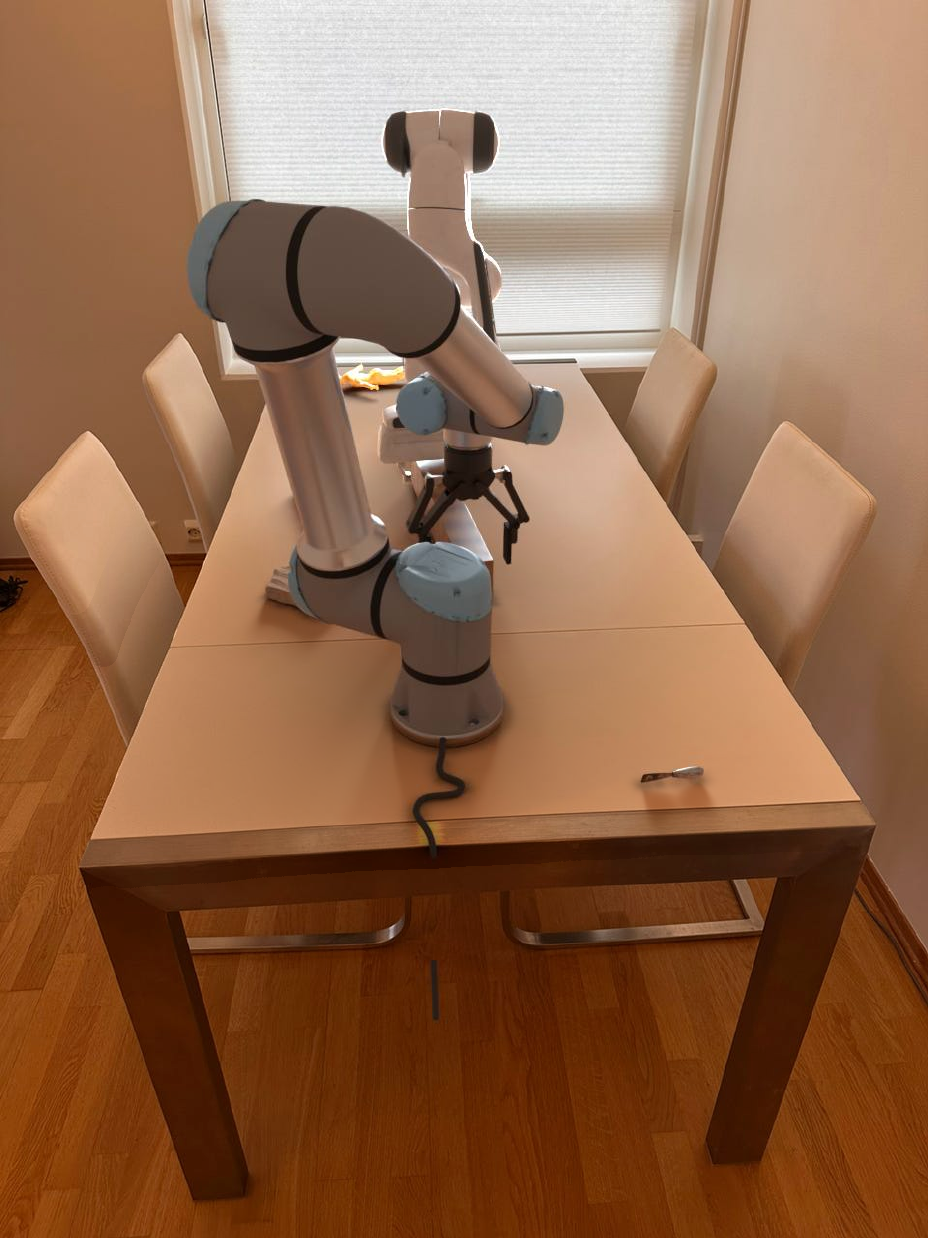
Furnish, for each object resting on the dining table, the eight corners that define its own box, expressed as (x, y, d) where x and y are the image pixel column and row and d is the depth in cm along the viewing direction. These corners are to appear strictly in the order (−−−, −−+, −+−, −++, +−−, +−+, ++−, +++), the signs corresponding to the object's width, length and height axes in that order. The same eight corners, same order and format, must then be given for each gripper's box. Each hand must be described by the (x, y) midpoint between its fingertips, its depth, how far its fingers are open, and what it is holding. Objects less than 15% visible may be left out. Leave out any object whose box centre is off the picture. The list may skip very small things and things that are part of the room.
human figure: (326, 388, 241) (325, 373, 239) (370, 367, 255) (369, 353, 253) (385, 401, 233) (384, 386, 231) (427, 379, 247) (427, 365, 245)
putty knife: (703, 777, 109) (705, 767, 109) (642, 788, 108) (644, 777, 107) (700, 772, 110) (702, 762, 109) (639, 782, 109) (640, 771, 108)
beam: (493, 603, 145) (493, 560, 141) (460, 607, 144) (460, 563, 140) (437, 483, 187) (436, 447, 183) (412, 485, 186) (410, 449, 182)
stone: (354, 583, 150) (352, 570, 149) (317, 618, 141) (316, 605, 140) (288, 570, 155) (286, 557, 153) (249, 603, 145) (246, 590, 144)
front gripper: (538, 427, 142) (533, 546, 154) (384, 439, 138) (391, 561, 149) (552, 444, 136) (546, 567, 147) (391, 457, 132) (397, 583, 143)
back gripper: (478, 402, 175) (477, 468, 182) (374, 410, 172) (378, 477, 179) (485, 413, 170) (484, 481, 177) (378, 421, 166) (382, 490, 174)
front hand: (468, 564), depth 148 cm, fingers open, 13 cm apart
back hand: (430, 479), depth 178 cm, fingers open, 8 cm apart
